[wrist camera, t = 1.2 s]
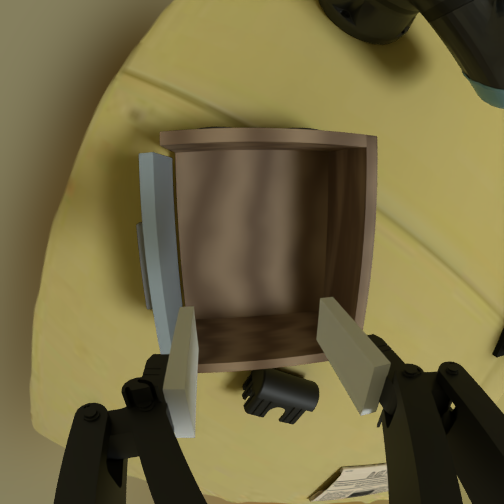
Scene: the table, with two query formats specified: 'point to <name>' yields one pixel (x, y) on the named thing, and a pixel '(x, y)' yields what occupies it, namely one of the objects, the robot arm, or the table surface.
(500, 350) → the typewriter
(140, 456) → the robot arm
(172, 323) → the panel
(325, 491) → the newspaper
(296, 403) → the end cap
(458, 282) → the table surface
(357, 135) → the box
